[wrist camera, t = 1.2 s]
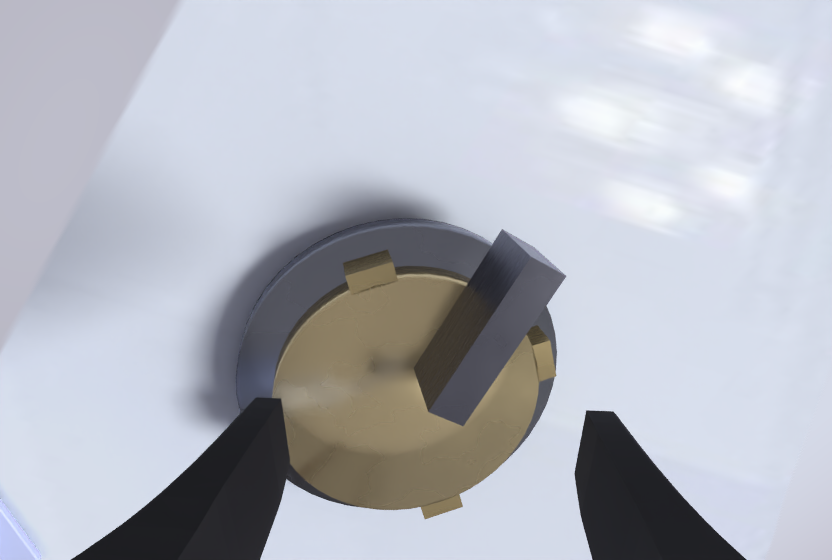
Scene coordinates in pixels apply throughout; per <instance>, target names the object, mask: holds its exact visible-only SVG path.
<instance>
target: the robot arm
mask: <svg viewBox="0 0 832 560" xmlns="http://www.w3.org/2000/svg"><path fill="white" fill-rule="evenodd" d="M289 464H290V456H289V449H288V442H287V435H286V428H285V421H284V414H283V407H282V401H281V398H259V397H256V398H255V399H254V400H253V401H252V402H251V403H250V404H249V405H248V406H247V407H246V408H245V409H244V410H243V411H242V412H241V414H240V415H239V416H238V417H237V418H236V419H235V420H234V421H233V422H232V423H231V424H230V426H229V427H228V428H227V429H226V430H225V431H224V432H223V433H222V434H221V435H220V436H219V437H218V438H217V439H216V440H215V441H214V442H213V443H212V444H211V445H210V446H209V447H208V448H207V450H206V451H205V452H204V453H203V454H202V455H201V456H200V457H199V458H198V459H197V460H196V461H195V462H194V463H193V464H192V465H191V466H189V467H188V468H187V469H186V470H185V471H184V472H183V473H182V474H181V475H180V476H179V477H178V478H177V479H175V480H174V481H173V482H172V483H171V484H170V485H169V486H168V487H167V488H166V489H165V490H163V491H162V492H161V493H160V494H159V495H158V496H156V497H155V498H154V499H153V500H152V501H151V502H149V503H148V504H147V505H146V506H145V507H143V508H142V509H141V510H140V511H138V512H137V513H136V514H135V515H133V516H132V517H131V518H130V519H128V520H127V521H126V522H124V523H123V524H122V525H120V526H119V527H118V528H116V529H115V530H113V531H112V532H111V533H109V534H108V535H106V536H105V537H103V538H102V539H101V540H99V541H98V542H96V543H95V544H93V545H92V546H91V547H89V548H88V549H86V550H85V551H83V552H82V553H80V554H79V555H77V556H76V557H74V558H73V559H71V560H260V558H261V555H262V552H263V550H264V547H265V544H266V541H267V539H268V536H269V533H270V530H271V528H272V525H273V522H274V519H275V516H276V514H277V511H278V508H279V505H280V502H281V498H282V494H283V490H284V486H285V482H286V477H287V473H288V468H289ZM575 480H576V487H577V494H578V501H579V507H580V513H581V518H582V522H583V526H584V529H585V533H586V537H587V540H588V544H589V548H590V552H591V555H592V559H593V560H746V559H745V558H744V557H743V556H742V555H741V554H740V553H738V552H737V551H736V550H735V549H734V548H733V547H732V546H731V545H730V544H729V543H728V542H727V541H726V540H724V539H723V538H722V537H721V536H720V535H719V534H718V533H717V532H716V531H715V530H714V529H713V528H712V527H711V526H710V525H709V524H708V523H707V522H706V521H705V520H704V519H703V518H702V517H701V516H700V515H699V514H698V513H697V512H696V510H695V509H694V508H693V507H692V506H691V505H690V504H689V503H688V502H687V501H686V500H685V499H684V498H683V496H682V495H681V494H680V493H679V492H678V491H677V490H676V489H675V487H674V486H673V485H672V484H671V483H670V482H669V480H668V479H667V478H666V477H665V476H664V475H663V473H662V472H661V471H660V470H659V469H658V468H657V466H656V465H655V464H654V463H653V461H652V460H651V459H650V458H649V457H648V455H647V454H646V453H645V451H644V450H643V449H642V448H641V446H640V445H639V444H638V443H637V441H636V440H635V439H634V437H633V436H632V435H631V434H630V432H629V431H628V430H627V428H626V427H625V426H624V424H623V423H622V422H621V420H620V419H619V418H618V416H617V415H616V414H615V413H614V412H611V411H586V416H585V421H584V426H583V431H582V437H581V442H580V447H579V453H578V458H577V463H576V468H575ZM0 560H41V553H40V552H39V550H38V549H37V548H36V546H35V545H34V544H33V542H32V541H31V540H30V538H29V537H28V535H27V534H26V533H25V531H24V530H23V529H22V527H21V526H20V525H19V523H18V522H17V520H16V519H15V518H14V516H13V515H12V514H11V512H10V511H9V510H8V508H7V507H6V505H5V504H4V503H3V501H2V500H1V499H0Z"/></svg>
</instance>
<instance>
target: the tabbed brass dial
mask: <svg viewBox="0 0 832 560" xmlns="http://www.w3.org/2000/svg"><path fill="white" fill-rule="evenodd" d="M343 266H344V272H345V277H346V280H347V282H345V283H343V284H341V285H339V286H337V287H336V288H334V289H333V290H331V291H330V292H328V293H327V294H325V295H324V296H322V297H321V298H320V299H319V300H318V301H317V302H315V303H314V304H313V305H312V306H311V307H310V308H309V309H308V310H307V311H306V312H305V313H304V314H303V315H302V317H301V318H300V319H299V320H298V321H297V322H296V324H295V326H294V327H293V329H292V330H291V332H290V333H289V335H288V336H287V338H286V340H285V342H284V345H283V347H282V349H281V351H280V354H279V357H278V361H277V364H276V368H275V375H274V382H273V394H272V398H281V401H282V407H283V414H284V421H285V428H286V435H287V442H288V449H289V456H290V464H291V465H292V467H293V468H294V469H295V471H296V472H297V473H298V474H299V475H300V476H301V477H303V478H304V479H305V480H306V481H307V482H308V483H309V484H311V485H312V486H313V487H315V488H316V489H318V490H319V491H321V492H323V493H325V494H326V495H328V496H330V497H332V498H334V499H337V500H339V501H342V502H345V503H348V504H351V505H355V506H359V507H364V508H371V509H380V510H399V509H411V508H417V507H421V509H422V512H423V515H424V518H425V519H427V518H430V517H433V516H436V515H439V514H442V513H445V512H448V511H451V510H454V509H457V508H460V507H463V506H462V502H461V499H460V495H459V494H460V493H462V492H464V491H466V490H468V489H470V488H472V487H473V486H475V485H476V484H478V483H479V482H481V481H483V480H484V479H485V478H486V477H488V476H489V475H490V474H492V473H493V472H494V471H495V470H496V469H497V468H498V467H499V466H500V465H501V464H502V463H503V462H504V461H505V460H507V458H508V457H509V456H510V455H511V453H512V452H513V451H514V450H515V449H516V447H517V446H518V444H519V443H520V441H521V439H522V438H523V436H524V435H525V433H526V431H527V429H528V426H529V424H530V422H531V420H532V417H533V414H534V411H535V408H536V403H537V397H538V389H539V382H540V381H543V380H546V379H549V378H552V377H555V376H556V372H555V366H554V360H553V354H552V349H551V343H550V340H549V338H548V337H547V336H546V335H545V334H544V332H543V331H542V330H541V329H540V328H539V326H538V325H536V326H533V327H532V325H533V324H534V323H535V321H536V320H537V318H538V317H539V315H540V314H541V312H542V311H543V309H544V308H545V307H546V305H547V304H548V302H549V301H550V299H551V298H552V296H553V295H554V293H555V292H556V290H557V289H558V288H559V286H560V285H561V283H562V282H563V280H564V279H565V277H566V275H564V274H563V273H562V272H561V271H560V270H559V269H558V268H557V267H556V266H554V265H553V264H552V263H551V262H550V261H549V260H548V259H547V258H545V257H544V256H543V255H542V254H541V253H540V252H539V251H538V250H536V249H535V248H534V247H533V246H531V245H529V244H527V243H526V242H524V241H522V240H520V239H519V238H517V237H515V236H513V235H511V234H510V233H508V232H506V231H504V230H503V229H502V230H501V232H500V233H499V235H498V237H497V238H496V240H495V241H494V243H493V244H492V246H491V248H490V249H489V251H488V252H487V254H486V255H485V257H484V259H483V260H482V262H481V263H480V265H479V266H478V268H477V269H476V271H475V273H474V274H473V276H472V277H471V279H470V278H468V277H466V276H463V275H461V274H459V273H456V272H452V271H448V270H445V269H441V268H434V267H427V266H401V267H394V265H393V261H392V259H391V256H390V254H389V251H388V249H387V250H384V251H381V252H377V253H374V254H370V255H367V256H364V257H360V258H357V259H354V260H350V261H347V262H344V263H343Z"/></svg>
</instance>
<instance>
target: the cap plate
mask: <svg viewBox="0 0 832 560" xmlns="http://www.w3.org/2000/svg"><path fill="white" fill-rule="evenodd" d="M491 246H492V243H491V242H489V241H487V240H486V239H484V238H483V237H481V236H479V235H477V234H474V233H472V232H470V231H468V230H466V229H463V228H460V227H457V226H453V225H450V224H447V223H443V222H437V221H431V220H425V219H391V220H381V221H375V222H371V223H366V224H362V225H357V226H354V227H352V228H349V229H346V230H343V231H341V232H338V233H335V234H333V235H331V236H329V237H327V238H325V239H323V240H321V241H320V242H318V243H316V244H314V245H313V246H311V247H310V248H308V249H307V250H305V251H304V252H302V253H301V254H299V255H298V256H297V257H295V258H294V259H293V260H292V261H291V262H290V263H289V264H288V265H287V266H285V267H284V268H283V269H282V270H281V271H280V272H279V273H278V274H277V276H276V277H275V278H274V279H273V280H272V281H271V283H270V284H269V285H268V286H267V287H266V289H265V290H264V292H263V294H262V295H261V297H260V298H259V300H258V301H257V303H256V305H255V306H254V309H253V311H252V313H251V315H250V318H249V320H248V322H247V325H246V328H245V332H244V335H243V339H242V342H241V347H240V352H239V357H238V365H237V374H236V385H237V399H238V404H239V409H240V414H241V412H242V411H243V410H244V409H245V408H246V407H247V406H248V405H249V404H250V403H251V402H252V401H253V400H254V399H255V398H256V397H259V398H272V394H273V382H274V375H275V368H276V364H277V361H278V357H279V354H280V351H281V349H282V347H283V345H284V342H285V340H286V338H287V336H288V335H289V333H290V332H291V330H292V329H293V327H294V326H295V324H296V322H297V321H298V320H299V319H300V318H301V317H302V315H303V314H304V313H305V312H306V311H307V310H308V309H309V308H310V307H311V306H312V305H313V304H314V303H315V302H317V301H318V300H319V299H320V298H321V297H322V296H324V295H325V294H327V293H328V292H330V291H331V290H333V289H334V288H336V287H337V286H339V285H341V284H343V283H345V282H347V280H346V277H345V272H344V266H343V263H344V262H347V261H350V260H354V259H357V258H360V257H364V256H367V255H370V254H374V253H377V252H381V251H384V250H387V249H388V251H389V254H390V256H391V259H392V261H393V265H394V267H401V266H427V267H434V268H441V269H445V270H448V271H452V272H456V273H459V274H461V275H463V276H466V277H468V278H470V279H471V277H472V276H473V274H474V273H475V271H476V269H477V268H478V266H479V265H480V263H481V262H482V260H483V259H484V257H485V255H486V254H487V252H488V251H489V249H490V248H491ZM536 325H538V326H539V328H540V329H541V330H542V331H543V332H544V334H545V335H546V336H547V337H548V338H549V340H550V343H551V349H552V354H553V360H554V366H555V371H556V356H557V349H556V338H555V332H554V327H553V323H552V319H551V316H550V314H549V311H548V309H547V306H546V307H545V308H544V309H543V311H542V312H541V314H540V315H539V317H538V318H537V320H536V321H535V323H534V324H533V325H532V327H533V326H536ZM553 381H554V377H552V378H549V379H546V380H543V381H540V382H539V389H538V397H537V403H536V408H535V411H534V414H533V417H532V420H531V422H530V424H529V426H528V429H527V431H526V433H525V435H524V436H523V438H522V439H521V441H520V443H519V444H518V446H517V447H516V449H515V450H514V451H513V452H512V453H511V455H512V454H513V453H514V452H515V451H516V450H517V449H518V448H519V447H520V445H521V444H522V443H523V442H524V441H525V439H526V438H527V437H528V436H529V434H530V433H531V431H532V430H533V428H534V427H535V425H536V423H537V422H538V420H539V418H540V416H541V414H542V412H543V410H544V408H545V406H546V404H547V401H548V398H549V395H550V392H551V389H552V386H553ZM511 455H510V456H511ZM510 456H509V457H510ZM509 457H508V458H509ZM508 458H507V459H508ZM505 461H506V460H505ZM505 461H504V462H505ZM504 462H503V463H504ZM286 479H288V480H289V481H290V482H292V483H293V484H294V485H296V486H298V487H300V488H302V489H303V490H305V491H307V492H309V493H311V494H313V495H316V496H318V497H321V498H324V499H326V500H329V501H333V502H337V503H340V504H344V505H349V506H355V505H351V504H348V503H345V502H342V501H339V500H337V499H334V498H332V497H330V496H328V495H326V494H325V493H323V492H321V491H319V490H318V489H316V488H315V487H313V486H312V485H311V484H309V483H308V482H307V481H306V480H305V479H304V478H303V477H301V476H300V475H299V474H298V473H297V472H296V471H295V469H294V468H293V467H292V465H291V464H289V468H288V473H287V477H286ZM356 507H359V506H356ZM363 508H364V507H363Z"/></svg>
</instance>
